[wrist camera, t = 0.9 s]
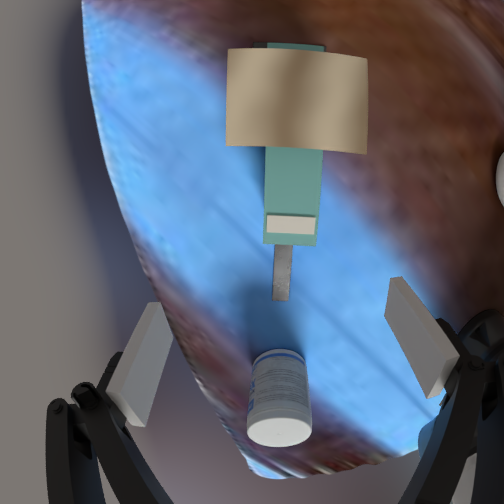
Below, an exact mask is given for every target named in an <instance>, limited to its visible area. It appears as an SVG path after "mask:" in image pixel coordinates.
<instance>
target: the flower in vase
mask: <svg viewBox="0 0 504 504" xmlns="http://www.w3.org/2000/svg"><path fill="white" fill-rule="evenodd" d="M496 188H497V193H498V196H499V199H500V201H501V203H502V205H503V206H504V152H503V154H502V155H501V157H500V159H499V161H498V165H497V170H496Z"/></svg>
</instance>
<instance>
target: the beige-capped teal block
mask: <svg viewBox="0 0 504 504" xmlns="http://www.w3.org/2000/svg"><path fill="white" fill-rule="evenodd" d="M267 48H275V49H296V50H309V51H319V52H324V46H315V45H305V44H290V43H267ZM322 157H323V150H320V149H307V148H291V147H268V146H266V154H265V193H264V227H263V244H280V245H301V246H316V239H317V229H318V217H319V205H320V191H321V176H322Z"/></svg>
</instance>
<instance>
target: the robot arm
mask: <svg viewBox="0 0 504 504" xmlns="http://www.w3.org/2000/svg"><path fill="white" fill-rule="evenodd" d="M384 317H385V319H386V320H387V322H388V324H389V326H390V327H391V329H392V331H393V333H394V335H395V337H396V339H397V340H398V342H399V344H400V346H401V348H402V350H403V352H404V354H405V356H406V358H407V359H408V361H409V363H410V365H411V367H412V369H413V371H414V373H415V375H416V378H417V380H418V382H419V384H420V386H421V388H422V390H423V392H424V394H425V396H426V399H429V398H431V397H434V396H437V395H440V393H441V391H442V389H443V387H444V388H445V390H446V392H447V393H446V394H445V396H444V398H443V399H442V401H441V403H440V404H439V405H440V406H441V405H442V406H441V409H440V412H439V415H437V416H436V417H435V418H434V419H433V420H432V421H430V422H429V423H428V424H426V425H425V426H424V427H423V428H422V429H421V431H420V433H419V436H418V449H419V455H420V462H419V465H418V467H417V469H416V471H415V473H414V475H413V477H412V479H411V481H410V483H409V485H408V487H407V489H406V490H405V492H404V494H403V496H402V497H401V499H400V501H399V503H398V504H450V502H451V499H452V501H453V504H504V317H503V316H502V315H501V314H500V313H499V312H498V311H497V310H493V309H490V310H486V311H484V312H482V313H480V314H478V315H477V316H475V317H474V318H473V319H472V320H471V321H470V322H468V323H467V325H466V326H465V327H464V328H463V329H462V330H461V332H460V333H459V335H458V336H457V334H456V333H455V331H453V329H452V327H451V326H450V325H449V323H447V322H446V321H445V320H443V319H442V318H439V319H434V318H433V316H432V315H431V314H430V312H429V311H428V310H427V308H426V307H425V306H424V304H423V303H422V302H421V300H420V299H419V298H418V296H417V295H416V294H415V292H414V291H413V290H412V289H411V287H410V286H409V285H408V284H407V282H406V281H405V280H404V279H403V277H402V276H401V277H394V278H390V284H389V291H388V297H387V303H386V309H385V314H384ZM172 340H173V336H172V333H171V330H170V328H169V325H168V322H167V319H166V317H165V314H164V311H163V308H162V305H161V303H160V302H151V303H148V305H147V307H146V308H145V310H144V313H143V314H142V316H141V318H140V320H139V322H138V324H137V326H136V328H135V330H134V332H133V334H132V336H131V338H130V340H129V342H128V344H127V346H126V348H125V350H124V352H117V353H116V354H115V355H114V356H113V357H112V358H111V359H110V361H109V363H108V366H107V367H106V369H105V373H103V375H102V377H101V380H100V382H99V384H98V386H97V388H95V387H94V386H93V384H91V383H89V382H83V383H80V384H78V385H77V386H75V388H74V389H73V390H72V393H71V398H72V400H73V401H74V402H75V403H76V404H68V403H67V402H66V401H65V400H64V399H62V398H57V399H55V400H53V401H52V402H51V403H50V404H49V405H48V408H47V420H46V477H47V490H48V499H49V504H106V502H105V498H104V493H103V489H102V484H101V478H100V473H99V468H98V461H97V457H98V459H99V462H100V464H101V466H102V468H103V470H104V473H105V475H106V477H107V479H108V481H109V483H110V485H111V487H112V489H113V491H114V493H115V495H116V497H117V499H118V501H119V503H120V504H174V503H173V502H172V500H171V499H170V498H169V496H168V495H167V493H166V492H165V490H164V489H163V487H162V486H161V485H160V483H159V482H158V480H157V479H156V477H155V475H154V474H153V472H152V471H151V469H150V468H149V466H148V464H147V463H146V461H145V459H144V458H143V456H142V454H141V452H140V451H139V449H138V447H137V445H136V444H135V442H134V440H133V438H132V436H131V434H130V432H129V431H128V429H127V427H126V426H125V422H126V419H127V420H128V421H129V422H130V423H131V425H135V426H142V427H146V423H147V420H148V417H149V413H150V410H151V406H152V403H153V400H154V396H155V393H156V390H157V387H158V383H159V380H160V377H161V374H162V371H163V368H164V364H165V361H166V358H167V355H168V352H169V349H170V346H171V343H172Z"/></svg>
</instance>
